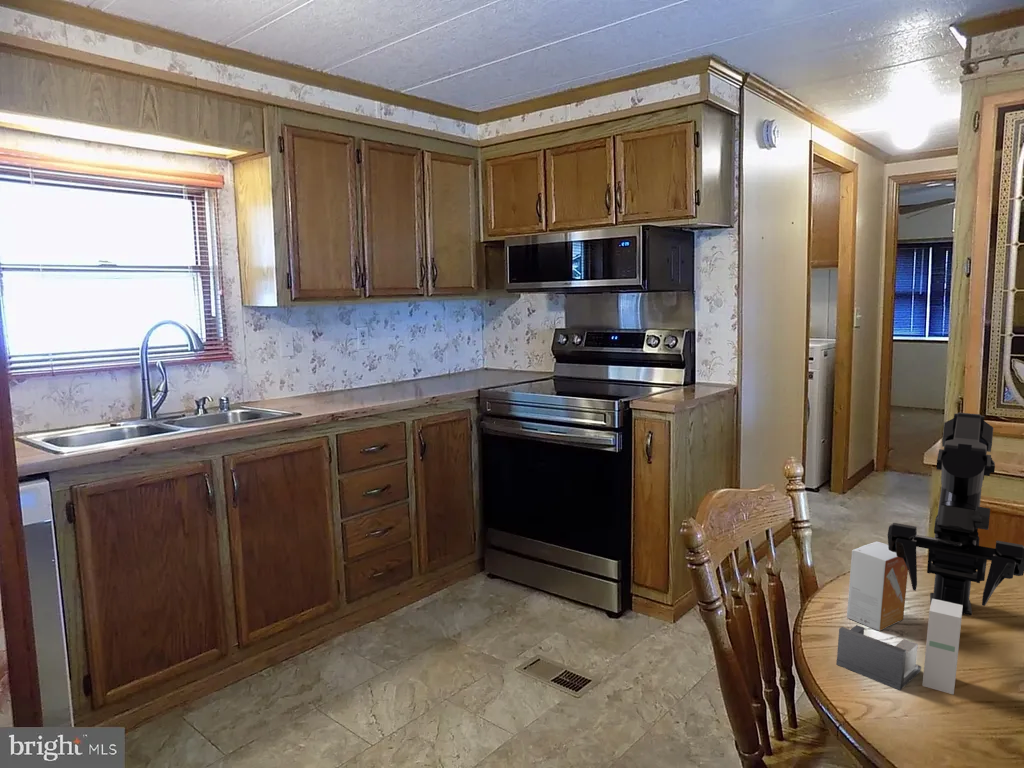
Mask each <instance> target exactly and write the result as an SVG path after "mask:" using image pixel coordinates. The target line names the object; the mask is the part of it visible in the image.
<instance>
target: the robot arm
mask: <svg viewBox="0 0 1024 768" xmlns="http://www.w3.org/2000/svg"><path fill="white" fill-rule="evenodd" d="M942 430H943V431H942V442H941V443H942V444H941V446H942V447H943V449H941V448H940V449H938V450H939V451H938V454H937V458H936V470H938V471H941V475H940V481H941V483H940V484H941V487H940V495H939V502H938V508H937V509H938V510H937V515H936V517H935V519H934V520H935V521H934V528H933V534H934V537H931V536H927V535H920V534H918V533H917V531H918V530H917V526H914V525H910V524H905V523H904V524H902V523H897V522H893V523H891V524H890V525H889V526H888V529H887V534H886V535H887V545H888V548H889V550H890V551H892V552H896V555H897V556H898V557H900V558H903V559H904V562H905V564H906V566H907V569H908V574H909V575H908V576H909V579H910V584H911V588H912V591H914V592H916V591H917V588H918V568H917V567H918V566H917V565H918V564H917V561H918V560H917V548H922V549H928V555H927V565H926V566H927V569H926V573H927V574H933V575H934V584H933V592H930V593H929V598H930V600H929V601H930V605H931V601H932V599H937V600H942V601H946V602H951V603H955V604H960V605H963V609H962V615H967V616H972V615H973V609H972V604H971V600H970V598H971V597H970V596H971V595H970V594H971V586H972V582H974V583H976V584H980V583H981V582H985V585H984V589H983V593H982V600H981V601H982V602H981V606H984V607H985V606H986V605H987V603H988V602H989V600H990V598H991V597H992V594H993V593H995V590H996V589H997V588H998V587H999V585H1000V584H1002V582H1003V581H1004V580H1005V579H1006V580H1007V579H1008V580H1010V579H1013V578H1014V576H1016V577H1023V576H1024V545H1023V544H1019V543H1013V542H1009V541H1008V542H1007V541H1001V540H996V541H995V547H987V546H983V545H980V536H979V532H978V531H979V530H978V529H980V530H986V531H987V530H989V529H990V528H989V527H990V516H991V508H989V507H983V506H981V498H982V487H983V482H984V480H985V476H986V477H990V475H991V474H995V470H996V463H995V461H994V460H993V457H992V455H991V454H987V453H988V452H990V453H991V452H992V446H993V439H994V438H993V437H994V427H993V426H992V425H990V424H989V423H988V422H986V421H985V415H981V414H979V413H968V412H957V413H955V412H954V414H953V418H951V419H950V420H948V421H945V422H944V423H943V429H942ZM988 561H990V562H991V563H990V566H989V569H988V573H987V578H986V571H987V562H988ZM985 579H986V581H985Z"/></svg>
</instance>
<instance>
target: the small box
mask: <svg viewBox="0 0 1024 768" xmlns="http://www.w3.org/2000/svg"><path fill="white" fill-rule="evenodd" d="M908 574H909V571H908V569H907V566H906V564H905V562H904V559H903V558H900V557H898V556H897V555H896V552H892V551H890V550H889V548H888V543H883V542H881V541H877V540H876V541H874V542H871V543H868V544H864V545H861V546H860V547H857V548H854V549H852V550H851V561H850V573H849V585H848V587H849V588H848V589H849V590H848V596H847V597H848V599H847V600H848V601H847V609H846V611H847V612H846V618H847V619H849V620H852V621H854V622H857V623H859V624H861V625H864V626H866V627H869V628H871V629H874V630H876V631H879V632H880V631H882V630H884V629H887V628H888V627H890V626H892V625H895V624H897V623H899V622H902V621H903V620H904V617H905V605H906V596H907V595H906V594H907V583H908V576H909V575H908Z"/></svg>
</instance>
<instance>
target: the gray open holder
mask: <svg viewBox="0 0 1024 768" xmlns="http://www.w3.org/2000/svg"><path fill="white" fill-rule="evenodd" d="M837 641H838V642H837V651H836V652H837V653H836V654H837V655H836V665H837V666H839V667H841V668H844V669H846V670H849V671H850V672H851V671H852V672H853V673H856V674H857V675H858V674H859V675H861V676H863V677H865V678H869V679H870V680H873V681H875V682H879V683H881V684H883V685H885V686H888V687H890V688H893V689H896V690H897V691H901V690H902V689H904V688H905V687H906V686H907V685H908V684H909V683H910V682H911V681H913V679H914V678H916V676H917V675H919V673H920V672H921V668H922V666H920V665H918V664H917V656H918V645H919V644H918V643H917V642H913V641H910V640H907V639H906V638H903V639H902V640H901V641H900V642H898V643H897V644H896V645H892V644H890V643H887V642H885V641H881V640H880V639H876V638H874V637H870V636H869V635H866V634H865V627H863V626H860V625H858V624H857V625H854V626H853V627H852V628H850V629H849V628H846V627H843V626H841V627H839V629H838V640H837Z"/></svg>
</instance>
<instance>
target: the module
mask: <svg viewBox="0 0 1024 768" xmlns="http://www.w3.org/2000/svg"><path fill="white" fill-rule="evenodd" d="M962 609H963V605H960V604H955V603H951V602H946V601H942V600H937V599H932V601H931V604H930V607H929V612H928V622H927V632H926V633H927V634H926V644H925V654H924V655H925V656H924V664H923V665H924V667H923V674H922V675H923V676H922V684H921V685H922V687H925V688H929V689H933V690H936V691H940V692H942V693H947V694H950V695H954V694H955V685H956V679H957V678H956V677H957V668H958V667H957V666H958V660H959V659H958V658H959V649H960V636H961V627H962V618H963V617H962V616H963V614H962Z"/></svg>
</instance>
